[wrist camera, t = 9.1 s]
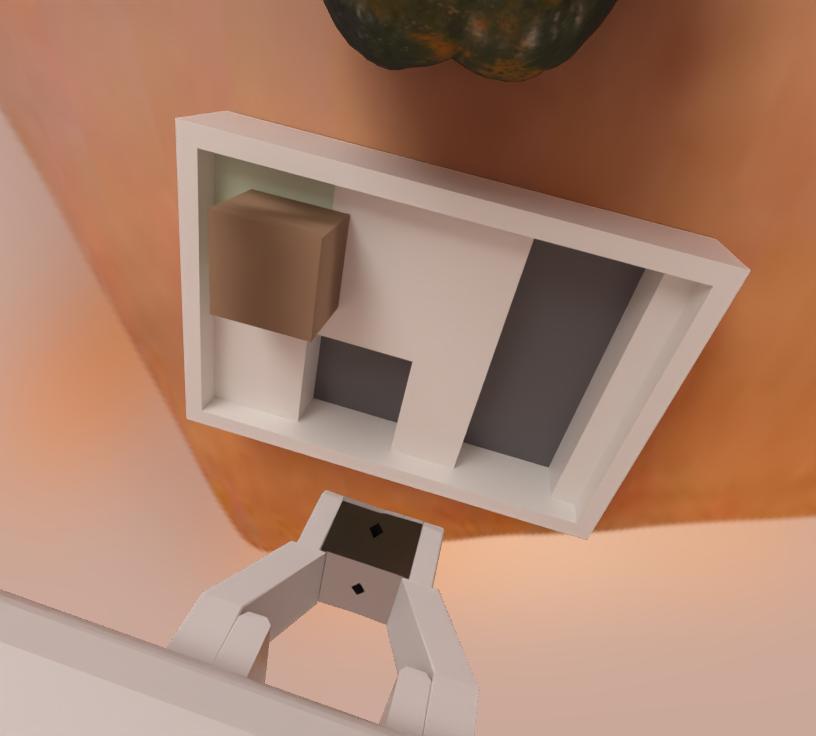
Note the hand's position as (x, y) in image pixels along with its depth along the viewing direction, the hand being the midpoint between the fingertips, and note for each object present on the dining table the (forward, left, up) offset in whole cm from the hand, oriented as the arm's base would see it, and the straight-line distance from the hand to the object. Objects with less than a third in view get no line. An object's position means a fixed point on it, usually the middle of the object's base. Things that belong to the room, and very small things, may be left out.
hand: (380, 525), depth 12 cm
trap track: (+1, +4, -18) cm, 19 cm away
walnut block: (+8, 0, -15) cm, 17 cm away
